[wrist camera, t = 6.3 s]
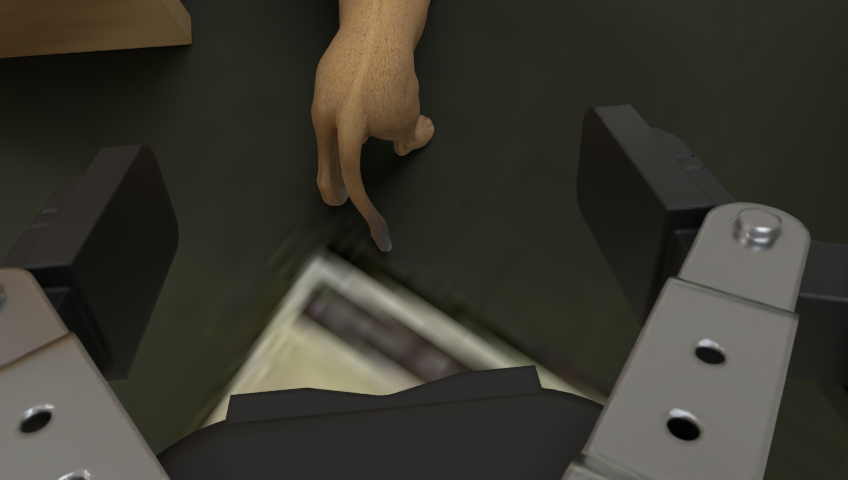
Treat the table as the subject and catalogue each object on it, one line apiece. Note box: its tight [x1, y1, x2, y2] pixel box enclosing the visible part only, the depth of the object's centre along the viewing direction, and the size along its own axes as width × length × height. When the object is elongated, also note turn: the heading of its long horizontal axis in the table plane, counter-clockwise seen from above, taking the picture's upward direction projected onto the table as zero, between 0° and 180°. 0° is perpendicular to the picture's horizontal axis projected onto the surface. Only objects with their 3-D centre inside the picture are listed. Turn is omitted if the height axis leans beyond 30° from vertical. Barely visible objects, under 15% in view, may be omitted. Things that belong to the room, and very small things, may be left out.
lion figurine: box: [311, 0, 434, 252], centre depth 20 cm, size 15×5×9 cm, turn 3°
